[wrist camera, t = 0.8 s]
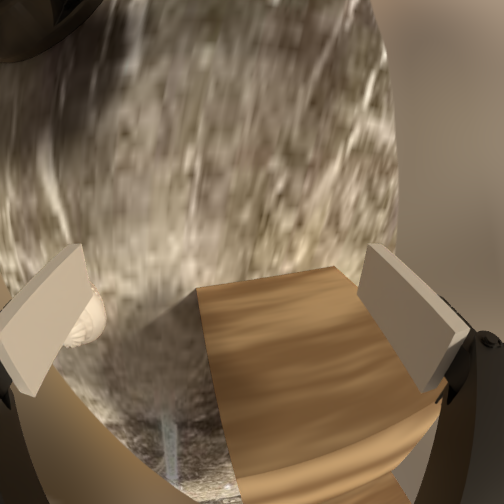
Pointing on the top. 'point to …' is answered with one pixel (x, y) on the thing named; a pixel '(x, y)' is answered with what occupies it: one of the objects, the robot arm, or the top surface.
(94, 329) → the white ridged rounded piece
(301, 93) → the top surface
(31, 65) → the top surface
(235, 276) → the top surface
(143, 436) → the top surface
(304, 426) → the pine stand
